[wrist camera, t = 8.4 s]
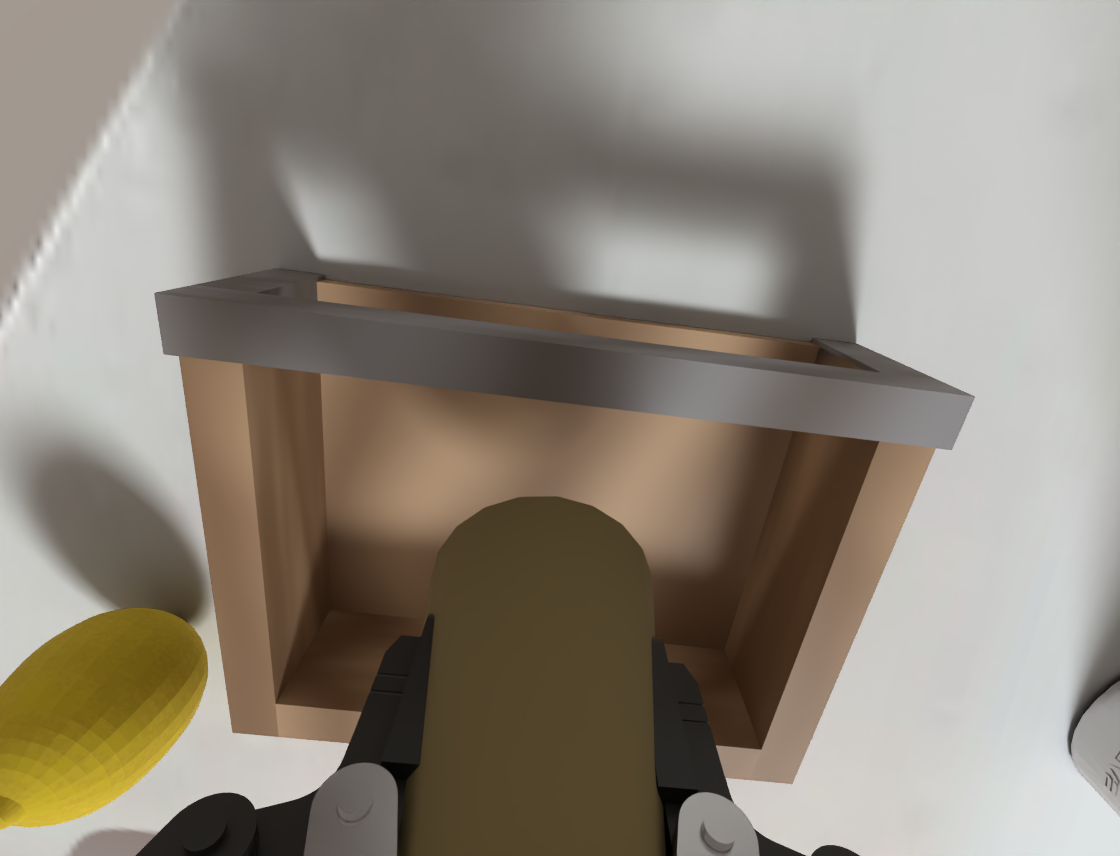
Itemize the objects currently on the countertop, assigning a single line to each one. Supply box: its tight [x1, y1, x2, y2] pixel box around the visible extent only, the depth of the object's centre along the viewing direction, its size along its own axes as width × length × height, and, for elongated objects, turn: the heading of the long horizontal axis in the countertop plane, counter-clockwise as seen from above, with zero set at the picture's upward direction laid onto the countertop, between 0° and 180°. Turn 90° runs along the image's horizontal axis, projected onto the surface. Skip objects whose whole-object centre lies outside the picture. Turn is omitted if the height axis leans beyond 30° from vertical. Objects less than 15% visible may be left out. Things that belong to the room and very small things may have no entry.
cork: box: [397, 496, 666, 856], centre depth 10 cm, size 6×6×11 cm
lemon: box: [0, 608, 208, 829], centre depth 19 cm, size 6×6×8 cm
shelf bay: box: [154, 269, 975, 784], centre depth 18 cm, size 19×14×6 cm
